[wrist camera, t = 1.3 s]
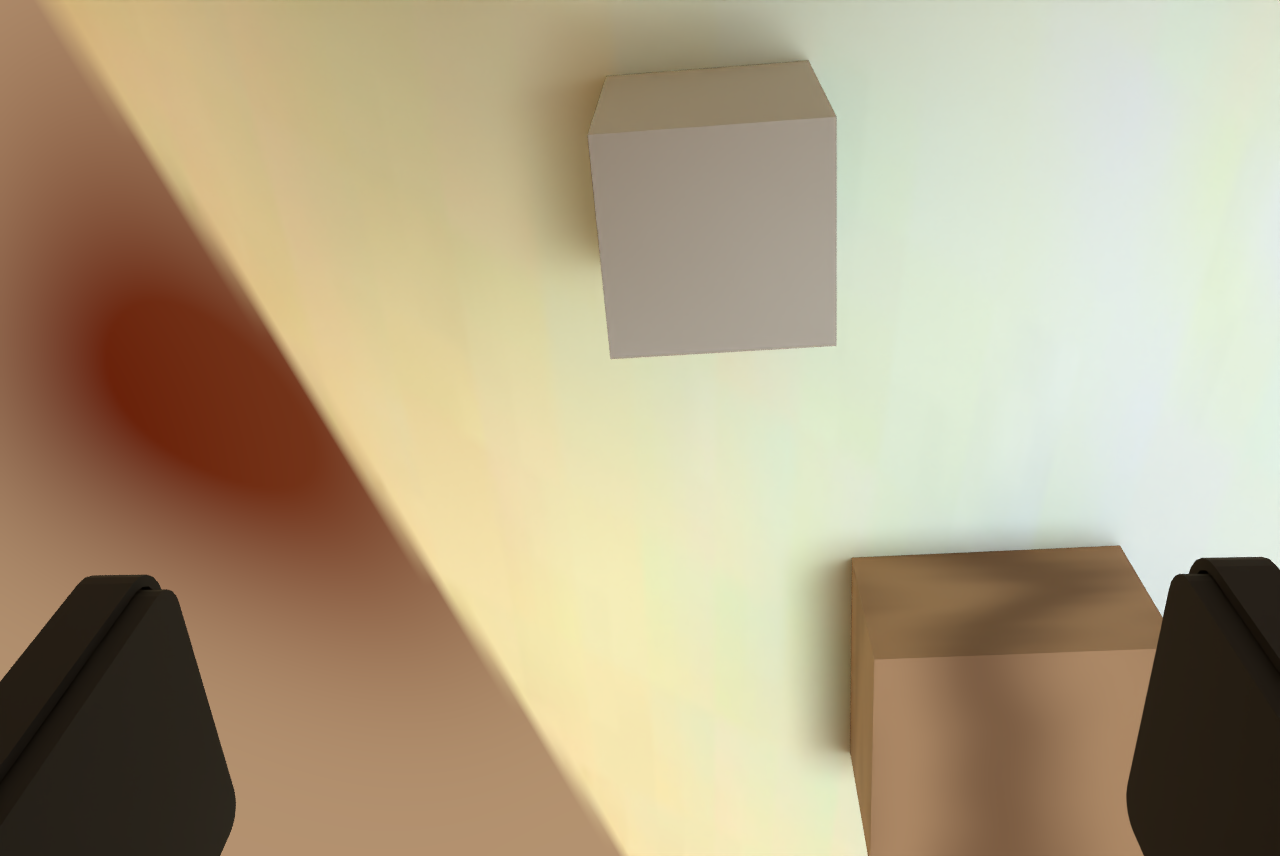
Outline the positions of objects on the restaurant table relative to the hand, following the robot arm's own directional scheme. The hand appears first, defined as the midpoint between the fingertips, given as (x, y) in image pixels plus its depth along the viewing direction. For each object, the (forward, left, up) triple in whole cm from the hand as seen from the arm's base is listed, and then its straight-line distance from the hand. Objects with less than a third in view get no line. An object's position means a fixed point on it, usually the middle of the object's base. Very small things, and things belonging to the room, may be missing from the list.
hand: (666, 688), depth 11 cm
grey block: (-1, +1, -21) cm, 21 cm away
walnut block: (-8, +17, -21) cm, 28 cm away
